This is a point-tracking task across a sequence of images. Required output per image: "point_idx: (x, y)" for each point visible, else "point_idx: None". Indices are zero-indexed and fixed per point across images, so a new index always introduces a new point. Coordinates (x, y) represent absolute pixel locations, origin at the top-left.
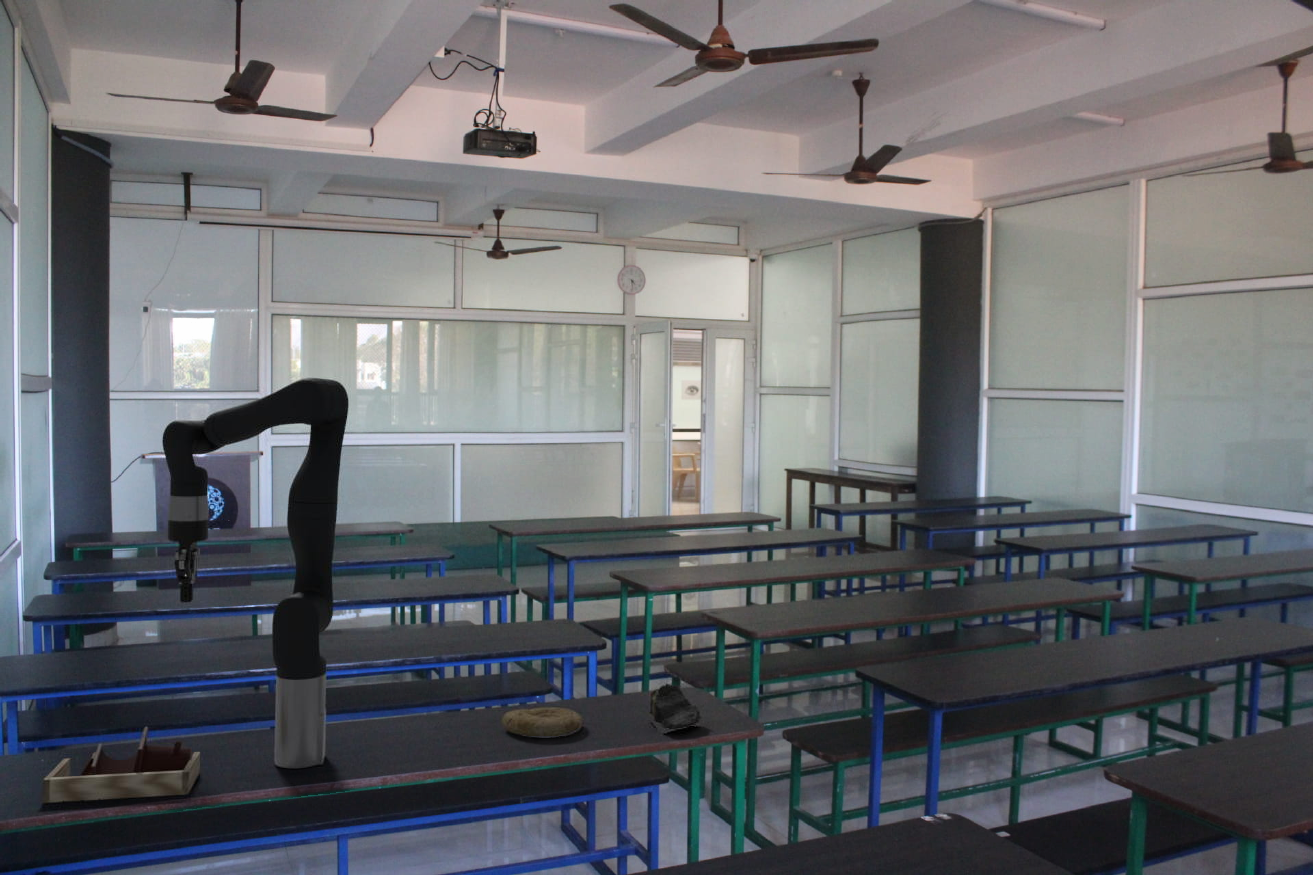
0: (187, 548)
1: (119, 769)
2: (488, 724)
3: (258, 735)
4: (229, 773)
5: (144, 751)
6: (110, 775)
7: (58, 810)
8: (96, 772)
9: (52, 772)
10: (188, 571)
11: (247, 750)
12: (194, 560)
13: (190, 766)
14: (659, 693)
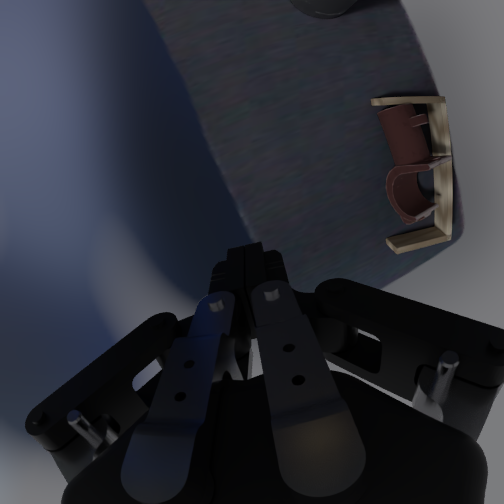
0: (484, 489)
1: (403, 186)
2: None
3: (206, 72)
4: (370, 63)
5: (430, 157)
6: (450, 178)
7: (455, 208)
8: (427, 202)
9: (434, 242)
10: (437, 311)
11: (278, 62)
12: (337, 392)
13: (429, 97)
14: None
